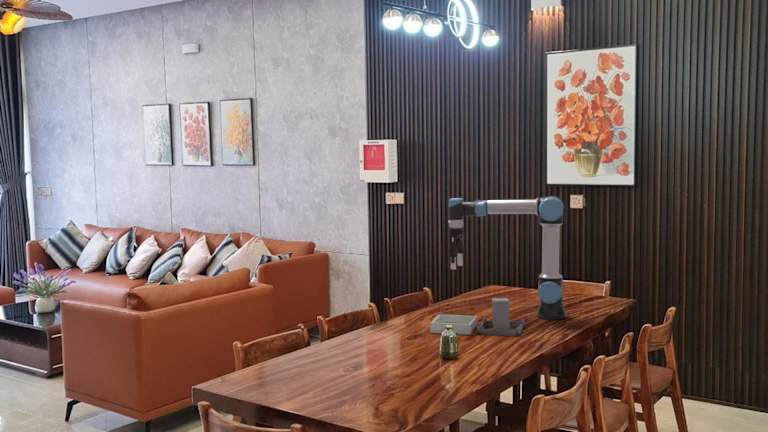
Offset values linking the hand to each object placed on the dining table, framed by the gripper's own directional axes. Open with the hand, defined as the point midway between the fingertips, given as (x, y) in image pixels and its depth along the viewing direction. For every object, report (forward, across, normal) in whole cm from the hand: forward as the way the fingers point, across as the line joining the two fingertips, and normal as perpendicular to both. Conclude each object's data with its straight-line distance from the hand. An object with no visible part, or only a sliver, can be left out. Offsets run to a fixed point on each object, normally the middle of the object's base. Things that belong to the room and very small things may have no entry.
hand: (456, 267), depth 399 cm
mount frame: (+28, +20, +27) cm, 44 cm away
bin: (+28, +24, +5) cm, 37 cm away
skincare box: (+28, +20, +27) cm, 44 cm away
